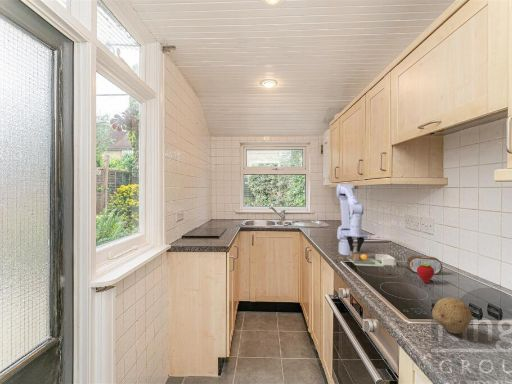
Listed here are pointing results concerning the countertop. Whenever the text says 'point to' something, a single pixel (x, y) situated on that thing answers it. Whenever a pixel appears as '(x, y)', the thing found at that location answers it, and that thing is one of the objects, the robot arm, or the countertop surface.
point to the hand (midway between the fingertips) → (354, 251)
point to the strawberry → (425, 272)
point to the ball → (363, 257)
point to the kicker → (354, 254)
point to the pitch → (384, 258)
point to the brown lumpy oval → (452, 315)
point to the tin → (418, 260)
